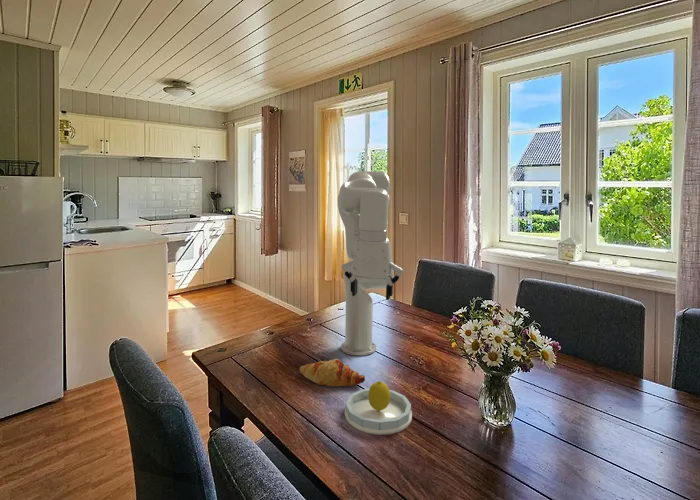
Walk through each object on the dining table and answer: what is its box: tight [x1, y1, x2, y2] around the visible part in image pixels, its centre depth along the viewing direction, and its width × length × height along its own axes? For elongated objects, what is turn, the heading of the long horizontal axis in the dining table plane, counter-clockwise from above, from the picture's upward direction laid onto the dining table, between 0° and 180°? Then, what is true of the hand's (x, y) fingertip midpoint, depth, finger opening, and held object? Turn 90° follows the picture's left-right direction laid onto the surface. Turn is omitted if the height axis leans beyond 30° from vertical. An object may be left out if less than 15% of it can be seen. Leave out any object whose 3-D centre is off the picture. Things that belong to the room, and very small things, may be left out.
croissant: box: [299, 358, 366, 388], centre depth 121 cm, size 21×10×8 cm
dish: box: [344, 388, 413, 436], centre depth 103 cm, size 17×17×3 cm
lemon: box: [368, 380, 390, 411], centre depth 103 cm, size 6×6×8 cm
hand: (371, 296), depth 114 cm, fingers open, 9 cm apart
